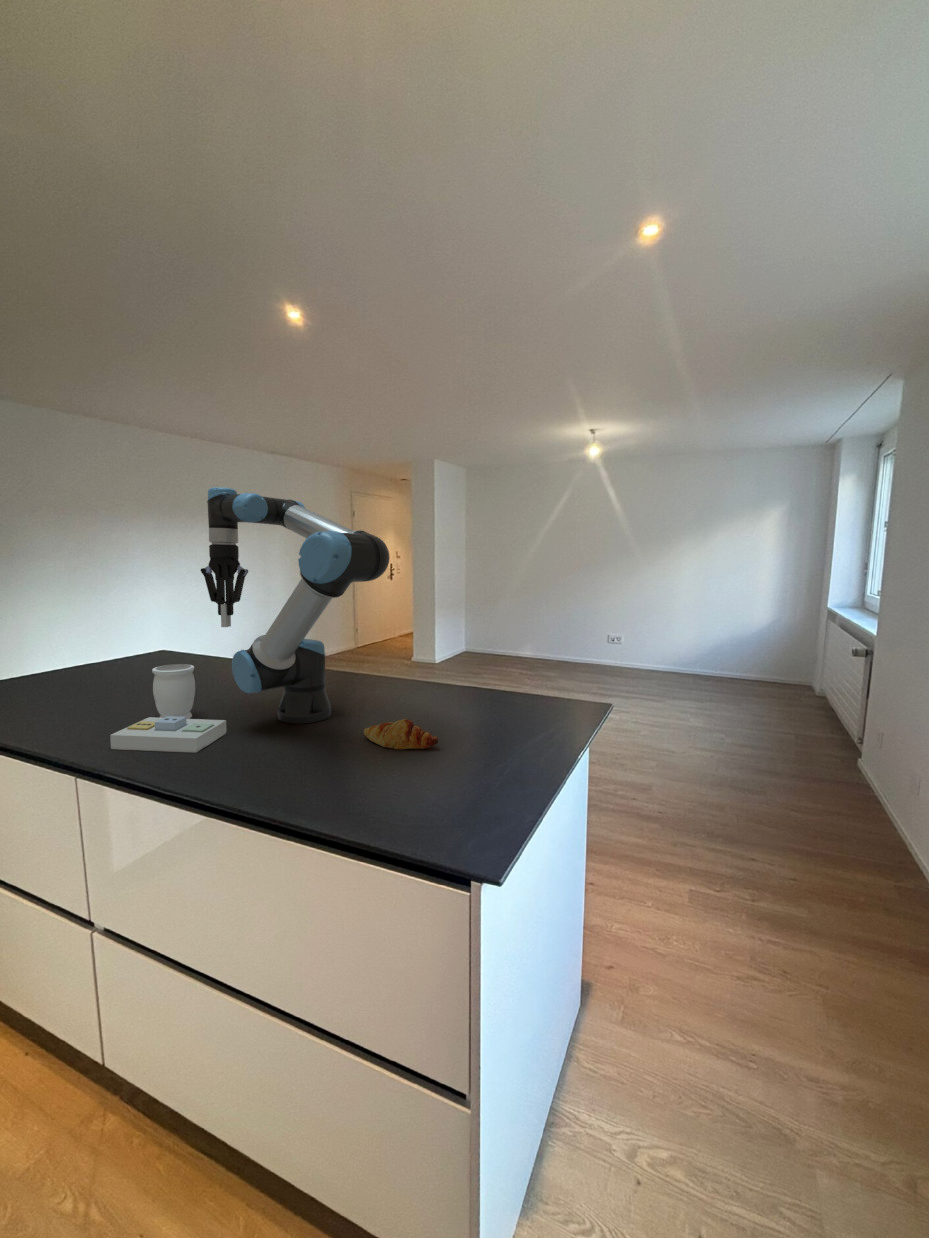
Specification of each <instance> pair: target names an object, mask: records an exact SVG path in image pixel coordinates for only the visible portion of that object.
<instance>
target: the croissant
mask: <svg viewBox="0 0 929 1238" xmlns="http://www.w3.org/2000/svg"><path fill="white" fill-rule="evenodd" d="M363 735H364V736H365V737H366V738H367V739H368V740H369V741H371V742H372V743H375V744H376V745H379V746H381V747H383V748H384V747H385V749H386V748H389V749H393V748H394V750H409V749H410V750H411V749H412V750H424V749H429V748H431V747H433V746H436V745H437V744H438V743H439V737H438V736H433V735H432V733H430V732H428V731H424V730H422V728H421V726H420V725H415V724H414V722H413V721H412V720H411V719H407V718H404V719H399V720H396V721H392V722H391V721H390V722H388V721H387V722H381V723H380V724H375V725H371V726H369V727H365V728H364V729H363ZM391 747H392V748H391Z"/></svg>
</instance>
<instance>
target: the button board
mask: <svg viewBox="0 0 929 1238" xmlns="http://www.w3.org/2000/svg"><path fill="white" fill-rule="evenodd" d="M160 719H162V718H159V717H150V716H149V717H147V718H144V719H142V720H141V721H149V722H156V721H158V720H160ZM138 722H139V721H138ZM138 722H136V723H138ZM186 722H187V725H186V726H184V727H182V728H180V729H179V730H177V731H155V727H153V728H151V729H149V730H129V729H127V727H125V728H123V729H120V730H118V731H116V732H114V733H112V734H110V737H109V738H110V749H111V750H122V751H125V750H126V751H127V750H128V751H145V752H146V751H148V752H151V751H152V752H170V753H171V752H173V753H174V752H175V753H193V754H194V753H198V752H200V751H202V750H203V749H204V748H206V747H207V746H209V745H210V744H212V743H214V742H215V741H216V740H218V739H219V738H221V737H223V736H225V735H226V734H227V720H226V719H225V720H224V719H203V718H202V719H200V718H190V719H186ZM136 723H133V724H131V725H130V726H132V725H134V724H136ZM194 723H201V724H213V727H211V728H210V729H208V730H206V731H205V732H183V729H185V728H186V727H188V726H190V725H192V724H194Z"/></svg>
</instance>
